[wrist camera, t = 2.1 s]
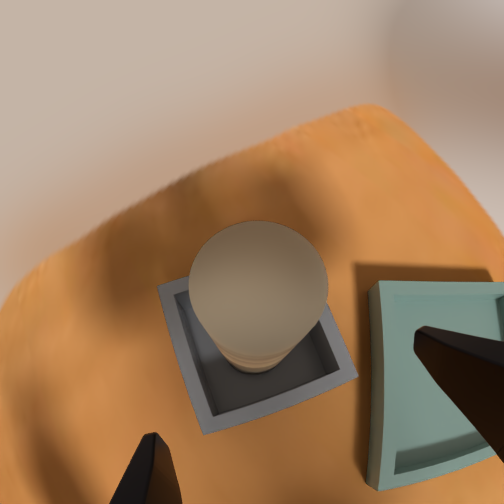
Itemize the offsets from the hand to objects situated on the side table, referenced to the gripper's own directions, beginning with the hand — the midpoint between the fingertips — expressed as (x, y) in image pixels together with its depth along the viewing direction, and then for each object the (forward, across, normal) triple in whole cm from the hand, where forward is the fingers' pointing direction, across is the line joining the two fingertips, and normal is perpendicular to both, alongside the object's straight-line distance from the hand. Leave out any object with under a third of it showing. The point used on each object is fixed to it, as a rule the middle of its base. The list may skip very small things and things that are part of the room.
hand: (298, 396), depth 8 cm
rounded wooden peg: (+9, 0, +4) cm, 10 cm away
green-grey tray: (+4, -13, +11) cm, 17 cm away
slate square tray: (+10, 0, +5) cm, 11 cm away
